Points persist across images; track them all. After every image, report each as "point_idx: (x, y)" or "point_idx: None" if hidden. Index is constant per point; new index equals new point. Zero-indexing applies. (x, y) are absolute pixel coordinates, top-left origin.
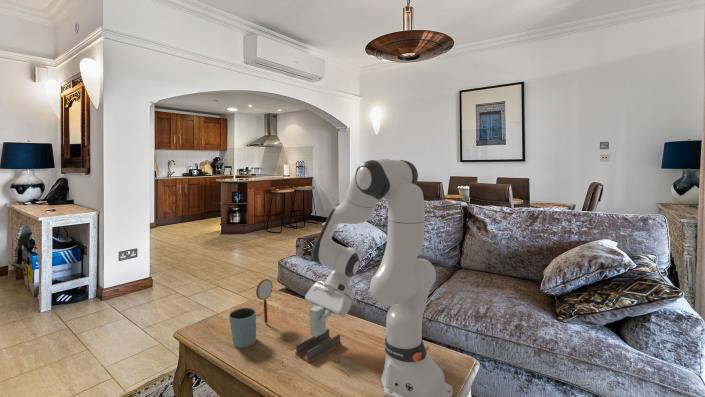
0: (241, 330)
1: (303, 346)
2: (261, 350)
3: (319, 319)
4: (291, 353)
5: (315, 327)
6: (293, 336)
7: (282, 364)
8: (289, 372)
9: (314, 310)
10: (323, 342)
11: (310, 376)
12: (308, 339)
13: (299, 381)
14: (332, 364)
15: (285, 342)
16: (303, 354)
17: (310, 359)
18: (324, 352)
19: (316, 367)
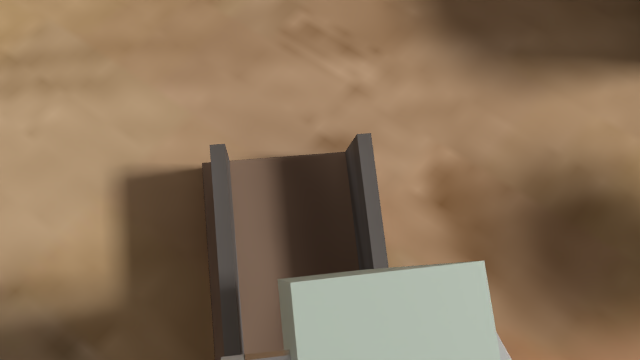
0: None
1: (358, 208)
2: (555, 22)
3: (262, 353)
4: (398, 144)
5: (283, 279)
6: (595, 284)
7: (323, 33)
8: (215, 18)
9: (349, 297)
10: (238, 344)
11: (75, 87)
12: (378, 265)
13: (88, 10)
14: (65, 288)
15: (552, 191)
16: (301, 177)
17: (209, 178)
18: (213, 322)
19: (127, 176)
